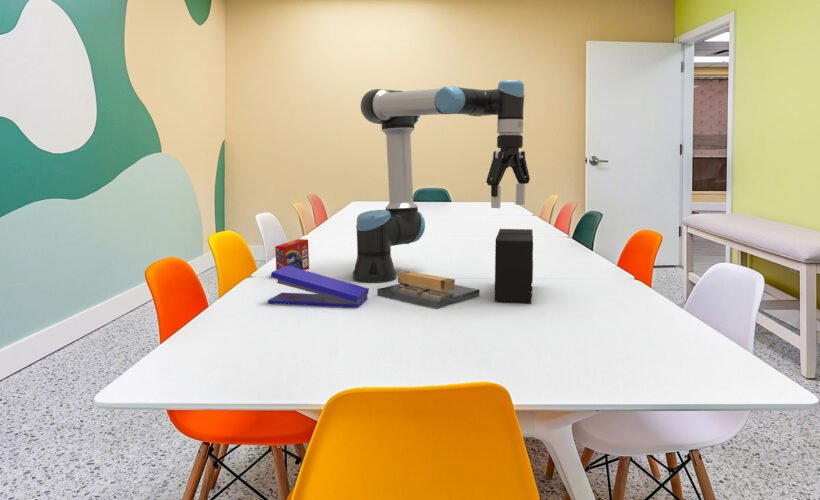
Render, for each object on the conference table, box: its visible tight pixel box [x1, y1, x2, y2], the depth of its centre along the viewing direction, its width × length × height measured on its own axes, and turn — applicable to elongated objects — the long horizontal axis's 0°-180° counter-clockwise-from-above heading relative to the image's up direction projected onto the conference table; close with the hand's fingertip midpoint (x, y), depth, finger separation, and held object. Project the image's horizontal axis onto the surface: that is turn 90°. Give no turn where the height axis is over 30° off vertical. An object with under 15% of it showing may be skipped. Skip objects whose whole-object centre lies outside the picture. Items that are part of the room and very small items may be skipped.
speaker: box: [494, 228, 534, 304], centre depth 180 cm, size 25×11×19 cm, turn 168°
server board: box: [376, 283, 481, 310], centre depth 178 cm, size 24×20×3 cm
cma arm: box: [397, 270, 456, 291], centre depth 178 cm, size 20×4×3 cm, turn 47°
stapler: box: [267, 265, 370, 308], centre depth 172 cm, size 12×28×10 cm, turn 78°
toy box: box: [274, 238, 310, 271], centre depth 212 cm, size 18×4×12 cm, turn 164°
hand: (508, 206), depth 176 cm, fingers open, 13 cm apart
